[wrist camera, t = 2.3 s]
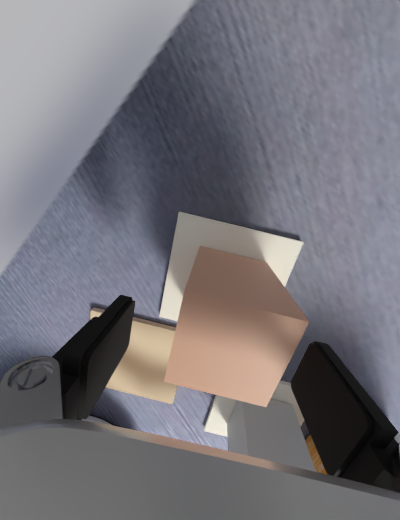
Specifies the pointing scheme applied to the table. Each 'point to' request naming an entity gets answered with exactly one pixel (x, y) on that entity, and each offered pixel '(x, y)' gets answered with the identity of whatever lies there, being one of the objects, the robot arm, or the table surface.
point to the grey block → (268, 434)
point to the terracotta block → (234, 329)
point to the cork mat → (144, 361)
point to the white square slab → (223, 239)
